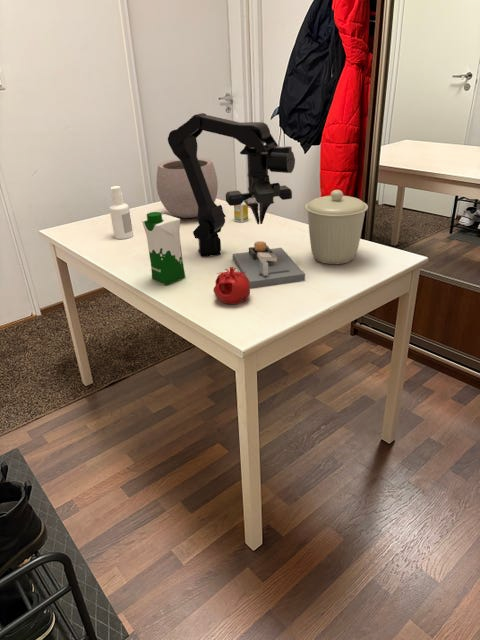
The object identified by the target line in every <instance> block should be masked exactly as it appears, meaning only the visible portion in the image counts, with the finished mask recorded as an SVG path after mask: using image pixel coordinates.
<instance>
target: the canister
mask: <svg viewBox="0 0 480 640" xmlns="http://www.w3.org/2000/svg"><path fill="white" fill-rule="evenodd" d="M304 209H305V211H307V220H308V222H307V223H308V231H309V232H308V233H309V243H310V250H311V254H312V256H313V258H315V260H317V261H318V262H320V263H323V264H328V265H340V264H346V263H349V262H351V261H352V260H353V259H354V258H355V257H356V255H357V253H358V250H359V246H360V241H361V235H362V230H363V226H364V219H365V215H366V211H368V209H369V206H368V204H367V203H366V202H364V201H363V200H361V199H360V198H357V197H354V196H349V195H344V193H343V191H342V190H340V189H334V190H332V191H331V192H330V195H325V196H320V197H317V198H314V199H312V200H311V201H309V202H307V203H306V204H305V206H304Z"/></svg>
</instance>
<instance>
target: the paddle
mask: <svg viewBox="0 0 480 640" xmlns="http://www.w3.org/2000/svg"><path fill="white" fill-rule="evenodd" d="M259 271H260V272H261V274H262V275H263V276H268V263H267V261H266V260H265V259H259Z"/></svg>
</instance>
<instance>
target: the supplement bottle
mask: <svg viewBox="0 0 480 640" xmlns="http://www.w3.org/2000/svg"><path fill="white" fill-rule="evenodd" d="M233 212H234V213H233V217H234V221H235V222H236V223H245V222H247V221H248V220H249V206H248V205H247V204H246V203H245V202H244V200H243V203H242V204H241V205H234V206H233Z"/></svg>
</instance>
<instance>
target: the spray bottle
mask: <svg viewBox="0 0 480 640" xmlns="http://www.w3.org/2000/svg"><path fill="white" fill-rule="evenodd" d="M110 191H111V195H110V196H111V202H112V204H111V205H110V206H109V214H110V218H111V219H110V220H111V226H112V229H113V235H114V238H115V239H117V240H126V239H130V238H131V237H133V236H134V231H133V224H132V219H131V213H130V207H129V204H127V203H125V201H124V200H125V199H124V195H123V191H122V187H121V186H120V185H114V186H111V187H110Z"/></svg>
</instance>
